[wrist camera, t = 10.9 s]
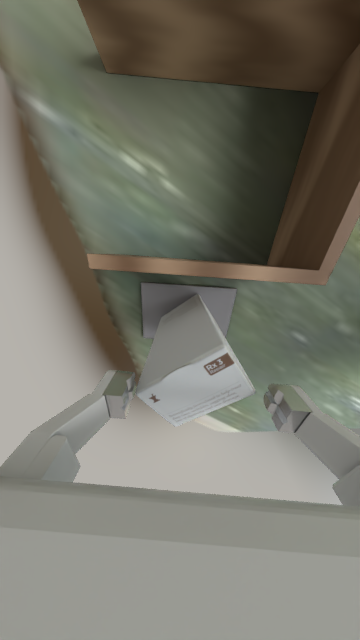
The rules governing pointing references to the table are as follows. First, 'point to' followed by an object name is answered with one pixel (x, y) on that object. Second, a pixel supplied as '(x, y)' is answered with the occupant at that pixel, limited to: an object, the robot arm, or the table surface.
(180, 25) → the walnut u-shaped frame
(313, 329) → the table surface
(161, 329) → the skincare box
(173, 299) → the charcoal mat
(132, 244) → the table surface
